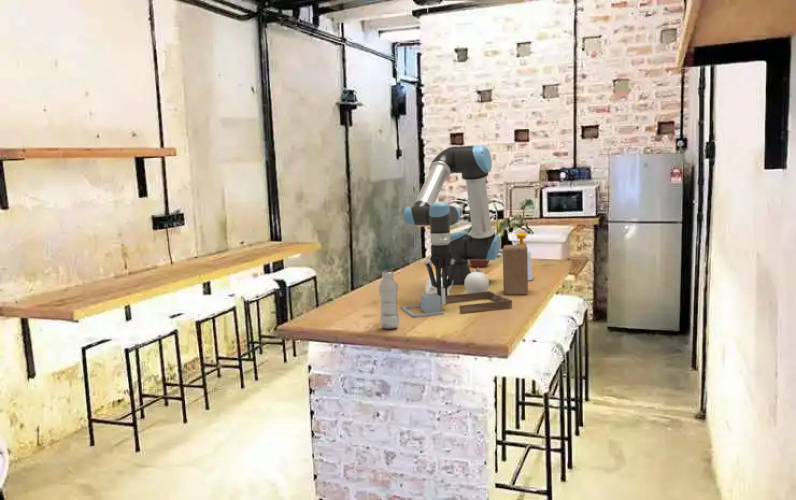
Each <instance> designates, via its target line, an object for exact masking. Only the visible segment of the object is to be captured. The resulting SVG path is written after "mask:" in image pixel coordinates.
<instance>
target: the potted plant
mask: <svg viewBox="0 0 796 500" xmlns="http://www.w3.org/2000/svg"><path fill="white" fill-rule="evenodd" d="M466 213H467V215H466V217H467V223H471V216H470V210H469V211H466ZM471 231H472V226H470V227H469V228H468V229H467V233H468V235H469V233H470V232H471ZM468 263H469V264H470V265H471V266H472V267H473V268H477V267H480V268H485V267H487V266H488V264H489V263H490V260H487V261H486V260H468Z"/></svg>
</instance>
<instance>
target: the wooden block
mask: <svg viewBox="0 0 796 500" xmlns="http://www.w3.org/2000/svg"><path fill="white" fill-rule="evenodd" d="M527 249H528V245H527V244H526V245H517V244H505V245H504V246H503V249H502V275H503V277H502V278H503V279H502V280H503V281H502V282H503V283H502V284H503V294H504V295H505V296H506V295H507V296H510V295H511V296H518V295H519V296H526V295H528V293H529V281H528V257H527Z"/></svg>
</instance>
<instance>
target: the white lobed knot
mask: <svg viewBox="0 0 796 500" xmlns="http://www.w3.org/2000/svg"><path fill="white" fill-rule="evenodd" d="M434 276H435V280H436V274H434ZM447 280H448V276H447ZM453 285H454V284H453V282H452V285H451V286H448V288H447V295H451V294H450V291H451V290H452V288H453ZM441 287H443V283H442V277H441ZM424 290H425V294H434V293H435V294H437V288H436V287H434V286H432V284H431V280H430V277H429V278H428V279H427V280H426V282H425V285H424Z"/></svg>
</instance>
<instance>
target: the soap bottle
mask: <svg viewBox="0 0 796 500" xmlns="http://www.w3.org/2000/svg"><path fill="white" fill-rule="evenodd" d="M515 236H516V240H517V239H518V240H519V243H516V245H527V243H524V240H525V239H526V238H527V236H528V234H527V233H525V232H523V231H521V232H517V233H516V234H515ZM527 257H528V282H530V281H532V280H533V271H532V270H533V268H532V257H531V250H530V249H529V248H527Z"/></svg>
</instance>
